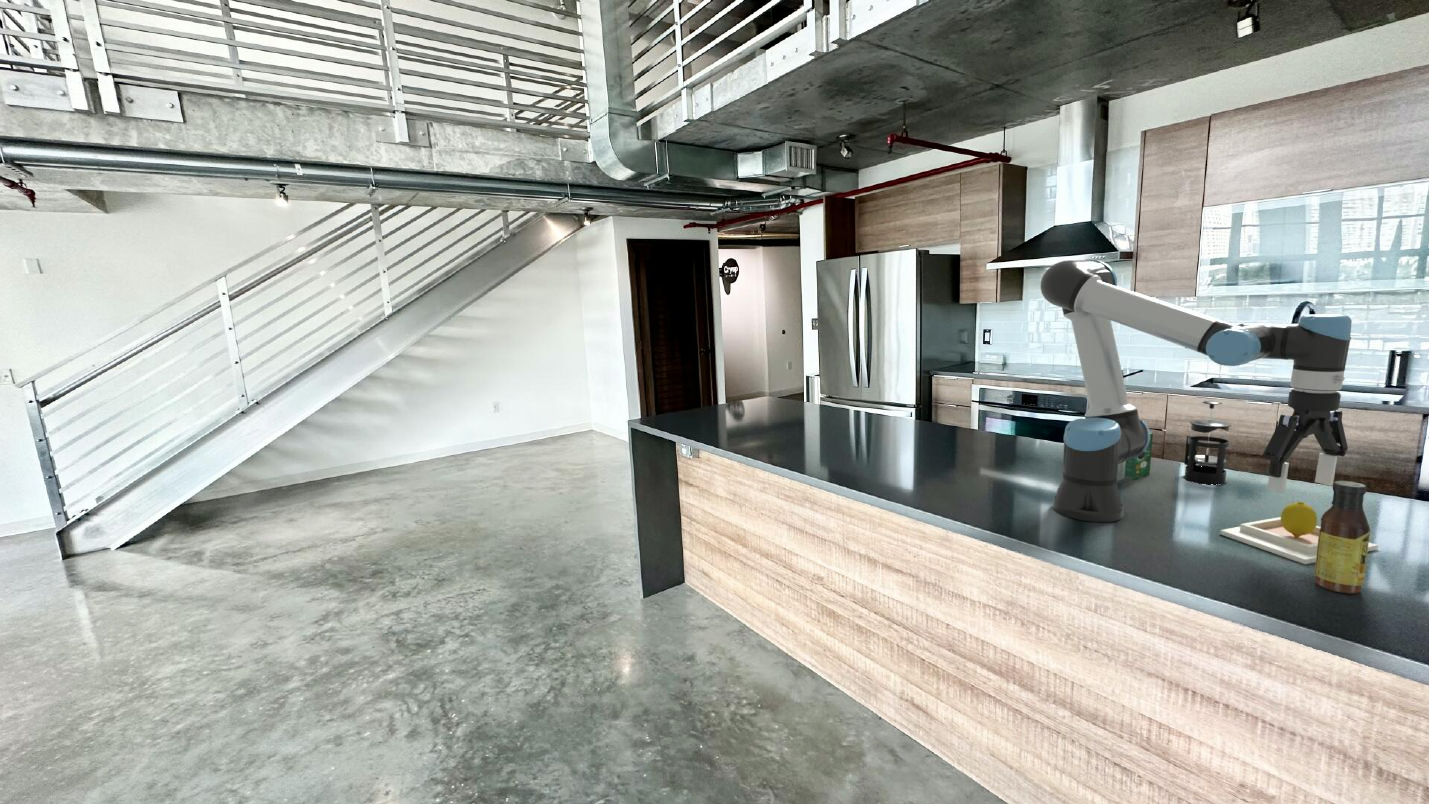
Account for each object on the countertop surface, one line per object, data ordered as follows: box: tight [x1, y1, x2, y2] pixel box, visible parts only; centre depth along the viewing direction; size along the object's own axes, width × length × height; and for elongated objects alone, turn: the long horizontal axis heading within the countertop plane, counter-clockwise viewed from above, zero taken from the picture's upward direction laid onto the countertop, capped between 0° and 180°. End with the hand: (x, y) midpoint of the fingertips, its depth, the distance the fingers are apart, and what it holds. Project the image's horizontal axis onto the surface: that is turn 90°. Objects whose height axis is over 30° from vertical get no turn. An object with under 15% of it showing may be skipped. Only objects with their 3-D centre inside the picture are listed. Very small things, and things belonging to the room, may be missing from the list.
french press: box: [1183, 400, 1232, 486], centre depth 165 cm, size 12×9×23 cm
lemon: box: [1280, 501, 1318, 537], centre depth 126 cm, size 6×6×8 cm
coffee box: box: [1123, 432, 1154, 480], centre depth 172 cm, size 8×3×13 cm, turn 114°
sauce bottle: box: [1314, 480, 1371, 595], centre depth 106 cm, size 6×6×20 cm
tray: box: [1219, 516, 1379, 565], centre depth 126 cm, size 20×16×2 cm
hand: (1299, 487), depth 125 cm, fingers open, 13 cm apart
